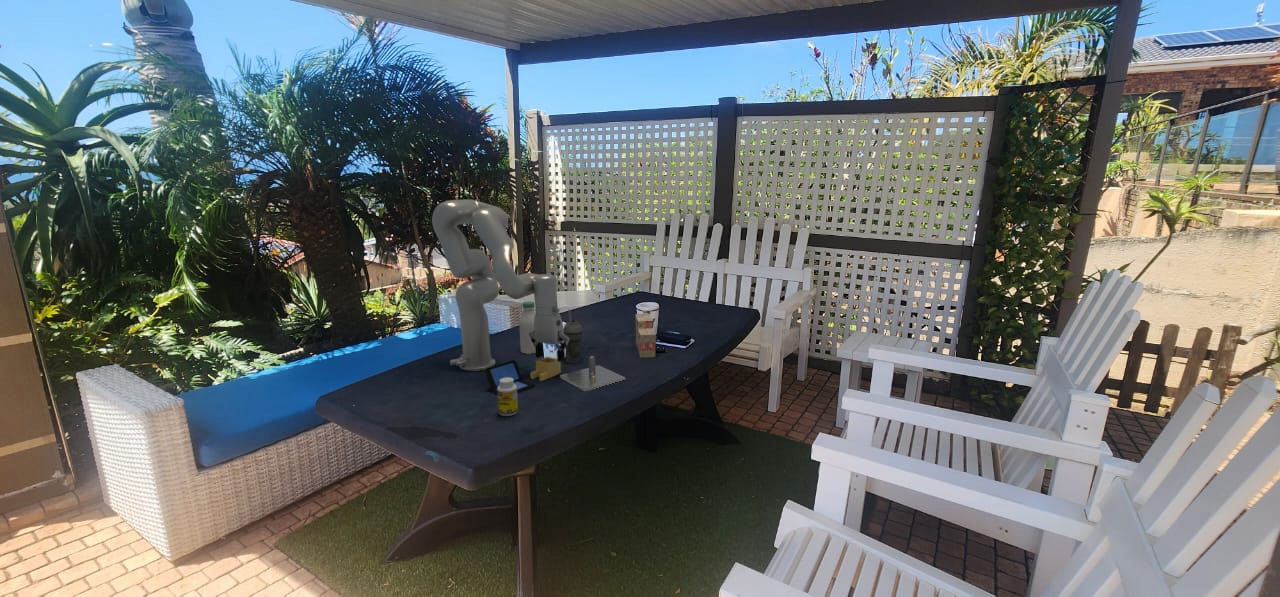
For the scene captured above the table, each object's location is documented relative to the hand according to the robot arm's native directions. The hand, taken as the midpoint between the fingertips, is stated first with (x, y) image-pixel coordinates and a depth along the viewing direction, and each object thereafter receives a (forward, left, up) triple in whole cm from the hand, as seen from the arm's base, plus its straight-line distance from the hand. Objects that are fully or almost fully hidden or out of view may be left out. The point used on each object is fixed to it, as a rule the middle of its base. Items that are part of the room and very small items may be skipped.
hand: (550, 358), depth 185 cm
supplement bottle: (-26, -20, -6) cm, 33 cm away
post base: (+8, -13, -6) cm, 17 cm away
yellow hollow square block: (-2, 0, -6) cm, 6 cm away
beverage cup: (+13, +7, -6) cm, 16 cm away
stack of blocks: (+44, +1, -6) cm, 44 cm away
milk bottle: (+6, +28, -6) cm, 29 cm away
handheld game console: (-17, -3, -6) cm, 18 cm away
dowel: (+6, -17, -6) cm, 19 cm away
